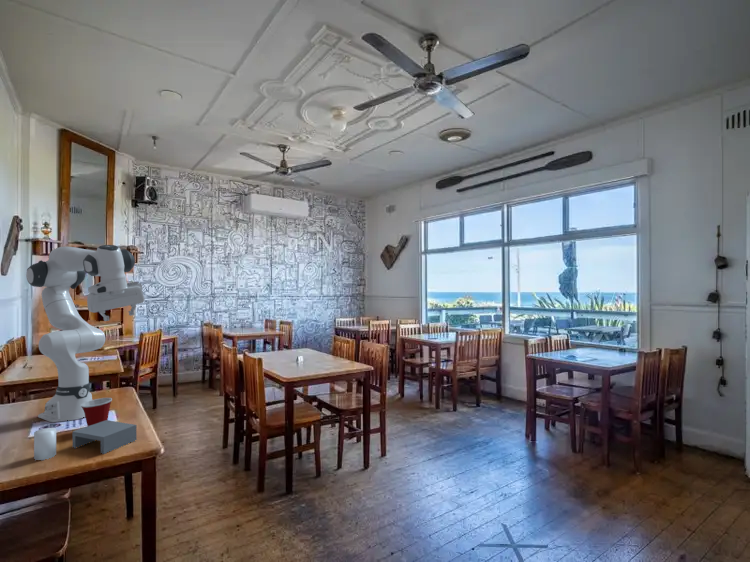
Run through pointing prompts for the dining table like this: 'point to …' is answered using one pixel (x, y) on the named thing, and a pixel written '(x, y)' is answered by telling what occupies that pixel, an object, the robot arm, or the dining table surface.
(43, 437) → the white rounded domed part
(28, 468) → the dining table surface
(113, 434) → the shelf
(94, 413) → the plastic cup
